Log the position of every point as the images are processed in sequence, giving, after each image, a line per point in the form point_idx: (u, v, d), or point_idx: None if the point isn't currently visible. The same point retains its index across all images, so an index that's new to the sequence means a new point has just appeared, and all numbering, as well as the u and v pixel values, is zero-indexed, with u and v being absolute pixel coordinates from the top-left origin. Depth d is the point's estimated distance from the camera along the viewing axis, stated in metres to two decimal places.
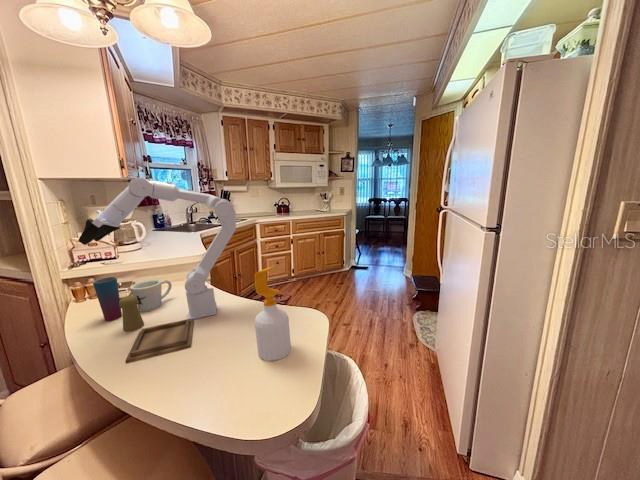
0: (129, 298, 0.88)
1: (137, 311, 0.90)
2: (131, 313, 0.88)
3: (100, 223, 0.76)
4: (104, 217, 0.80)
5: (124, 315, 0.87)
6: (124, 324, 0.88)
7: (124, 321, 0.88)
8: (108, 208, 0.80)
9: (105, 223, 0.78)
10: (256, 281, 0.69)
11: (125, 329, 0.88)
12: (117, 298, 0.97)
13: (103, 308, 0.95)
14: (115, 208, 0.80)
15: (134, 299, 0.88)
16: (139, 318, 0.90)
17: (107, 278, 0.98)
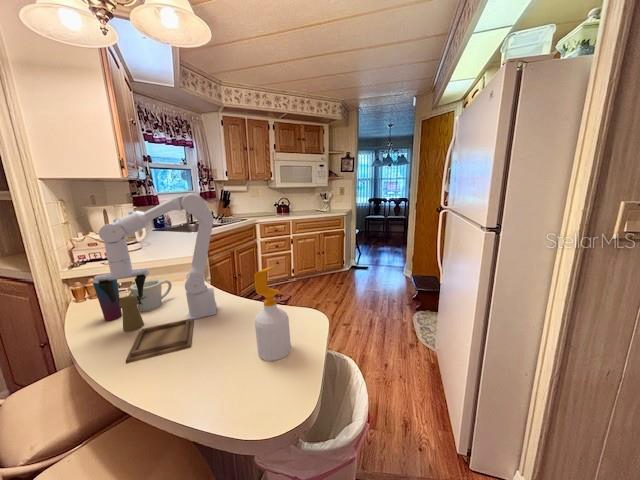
0: (129, 298, 0.88)
1: (137, 311, 0.90)
2: (131, 313, 0.88)
3: None
4: None
5: (124, 315, 0.87)
6: (124, 324, 0.88)
7: (124, 321, 0.88)
8: None
9: (99, 277, 0.83)
10: (256, 281, 0.69)
11: (125, 329, 0.88)
12: (117, 298, 0.97)
13: (103, 308, 0.95)
14: None
15: (134, 299, 0.88)
16: (139, 318, 0.90)
17: None
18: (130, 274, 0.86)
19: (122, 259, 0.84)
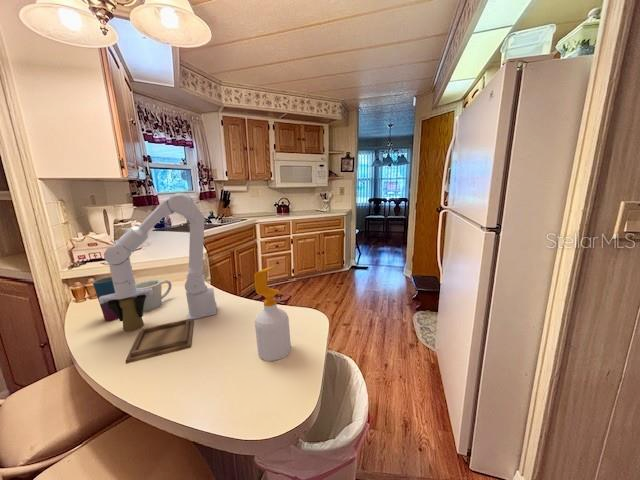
0: (129, 298, 0.88)
1: (137, 311, 0.90)
2: (131, 313, 0.88)
3: None
4: None
5: (124, 315, 0.87)
6: (124, 324, 0.88)
7: (124, 321, 0.88)
8: None
9: (104, 298, 0.85)
10: (256, 281, 0.69)
11: (125, 329, 0.88)
12: None
13: (103, 308, 0.95)
14: None
15: (134, 299, 0.88)
16: (139, 318, 0.90)
17: (107, 278, 0.98)
18: (134, 294, 0.87)
19: (126, 280, 0.85)
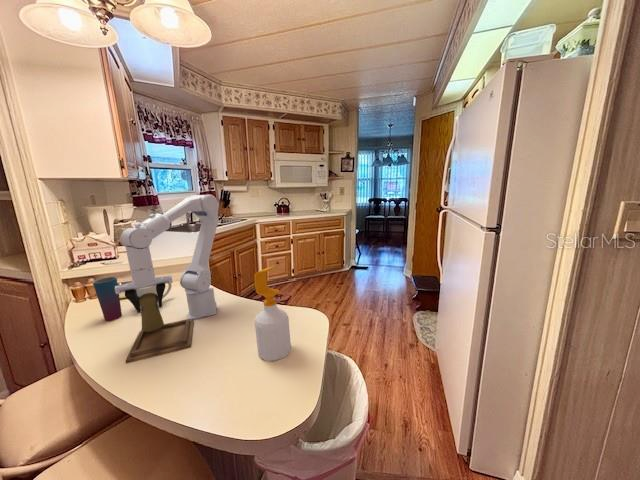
0: (150, 295, 0.81)
1: (158, 309, 0.83)
2: (153, 311, 0.81)
3: (115, 289, 0.76)
4: None
5: (145, 314, 0.81)
6: (145, 323, 0.81)
7: (145, 320, 0.81)
8: None
9: (121, 288, 0.77)
10: (256, 281, 0.69)
11: (146, 329, 0.81)
12: (117, 298, 0.97)
13: (103, 308, 0.95)
14: None
15: (155, 296, 0.82)
16: (160, 316, 0.84)
17: (107, 278, 0.98)
18: (155, 282, 0.80)
19: (150, 265, 0.79)
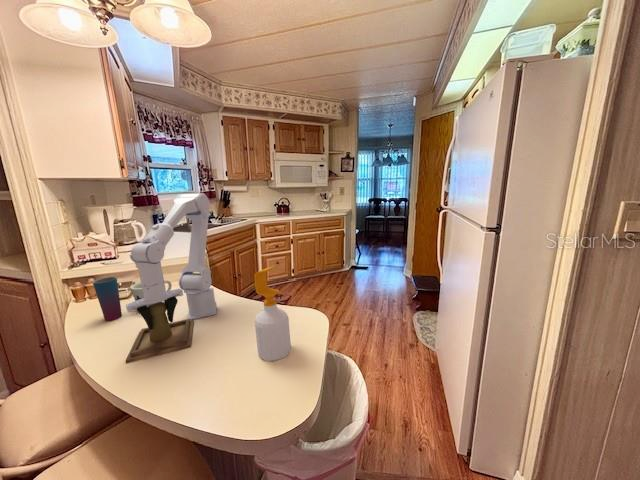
0: (160, 303, 0.80)
1: (166, 317, 0.82)
2: (163, 320, 0.80)
3: (127, 308, 0.73)
4: (144, 298, 0.77)
5: (156, 323, 0.79)
6: (155, 333, 0.79)
7: (156, 330, 0.79)
8: None
9: (134, 305, 0.74)
10: (256, 281, 0.69)
11: (157, 338, 0.79)
12: (117, 298, 0.97)
13: (103, 308, 0.95)
14: None
15: (165, 304, 0.81)
16: None
17: (107, 278, 0.98)
18: (168, 296, 0.79)
19: (163, 279, 0.79)
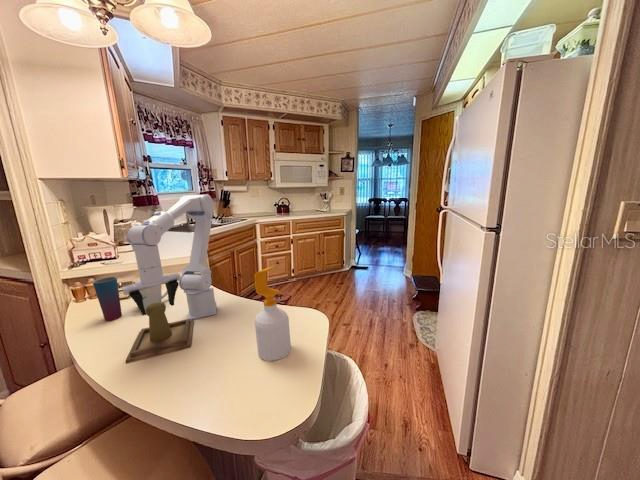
0: (158, 304, 0.80)
1: None
2: (162, 320, 0.80)
3: (123, 290, 0.72)
4: (140, 282, 0.76)
5: (155, 323, 0.79)
6: (155, 334, 0.79)
7: (155, 330, 0.79)
8: None
9: (131, 288, 0.73)
10: (256, 281, 0.69)
11: (157, 339, 0.80)
12: (117, 298, 0.97)
13: (103, 308, 0.95)
14: (138, 269, 0.75)
15: (164, 304, 0.81)
16: (168, 325, 0.83)
17: (107, 278, 0.98)
18: (165, 280, 0.78)
19: (160, 263, 0.78)
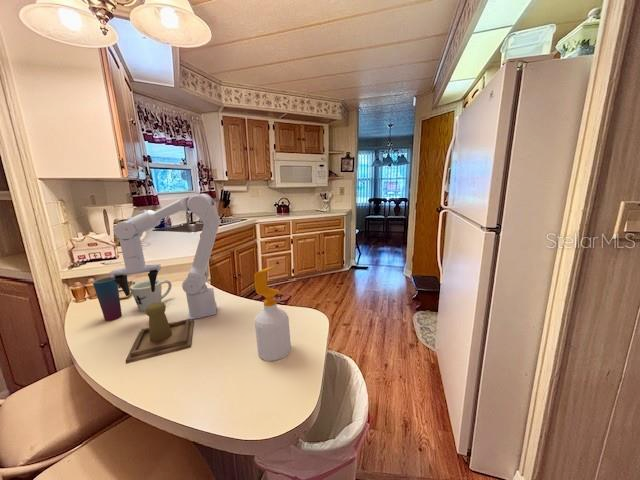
0: (158, 304, 0.80)
1: None
2: (162, 320, 0.80)
3: None
4: None
5: (155, 323, 0.79)
6: (155, 334, 0.79)
7: (155, 330, 0.79)
8: None
9: (115, 272, 0.88)
10: (256, 281, 0.69)
11: (157, 339, 0.80)
12: (117, 298, 0.97)
13: (103, 308, 0.95)
14: None
15: (164, 304, 0.81)
16: (168, 325, 0.83)
17: (107, 278, 0.98)
18: (144, 269, 0.90)
19: (134, 255, 0.88)
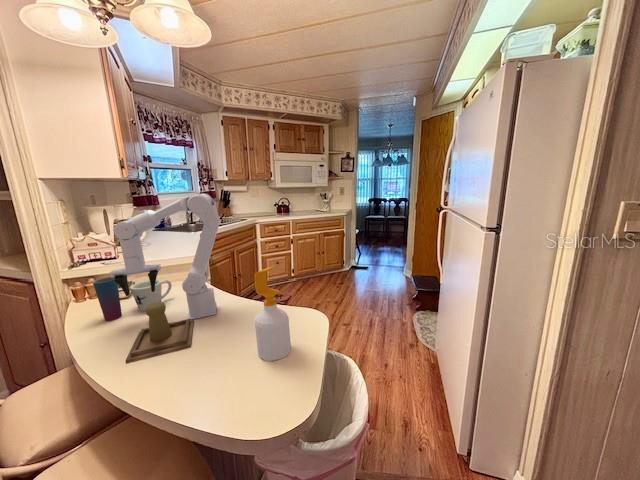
0: (158, 304, 0.80)
1: None
2: (162, 320, 0.80)
3: None
4: None
5: (155, 323, 0.79)
6: (155, 334, 0.79)
7: (155, 330, 0.79)
8: None
9: (115, 272, 0.88)
10: (256, 281, 0.69)
11: (157, 339, 0.80)
12: (117, 298, 0.97)
13: (103, 308, 0.95)
14: None
15: (164, 304, 0.81)
16: (168, 325, 0.83)
17: (107, 278, 0.98)
18: (144, 269, 0.90)
19: (134, 255, 0.88)
